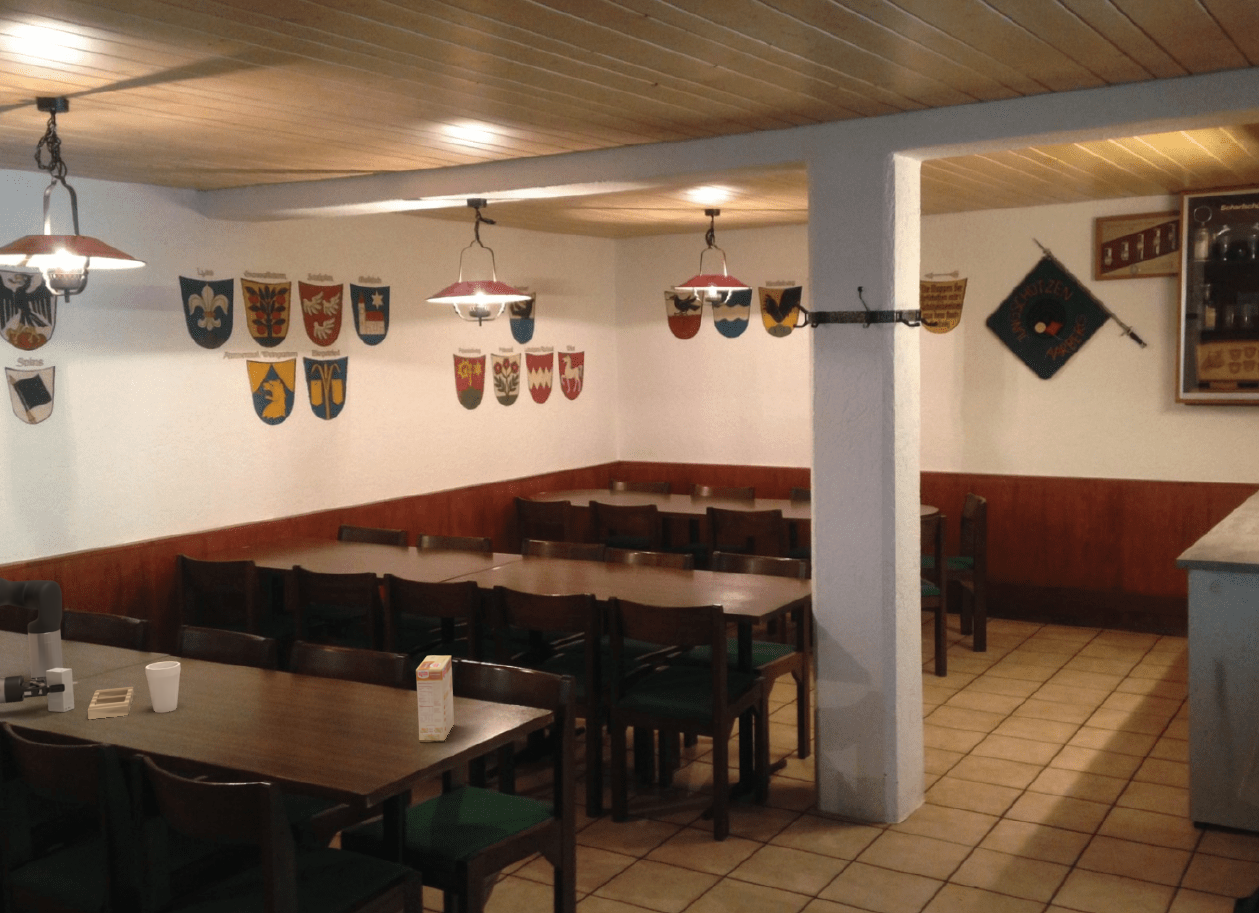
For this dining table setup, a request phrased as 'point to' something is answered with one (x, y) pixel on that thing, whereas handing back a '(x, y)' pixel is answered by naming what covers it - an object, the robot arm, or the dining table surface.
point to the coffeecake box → (435, 697)
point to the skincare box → (60, 699)
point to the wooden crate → (111, 703)
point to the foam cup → (163, 685)
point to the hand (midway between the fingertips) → (66, 684)
